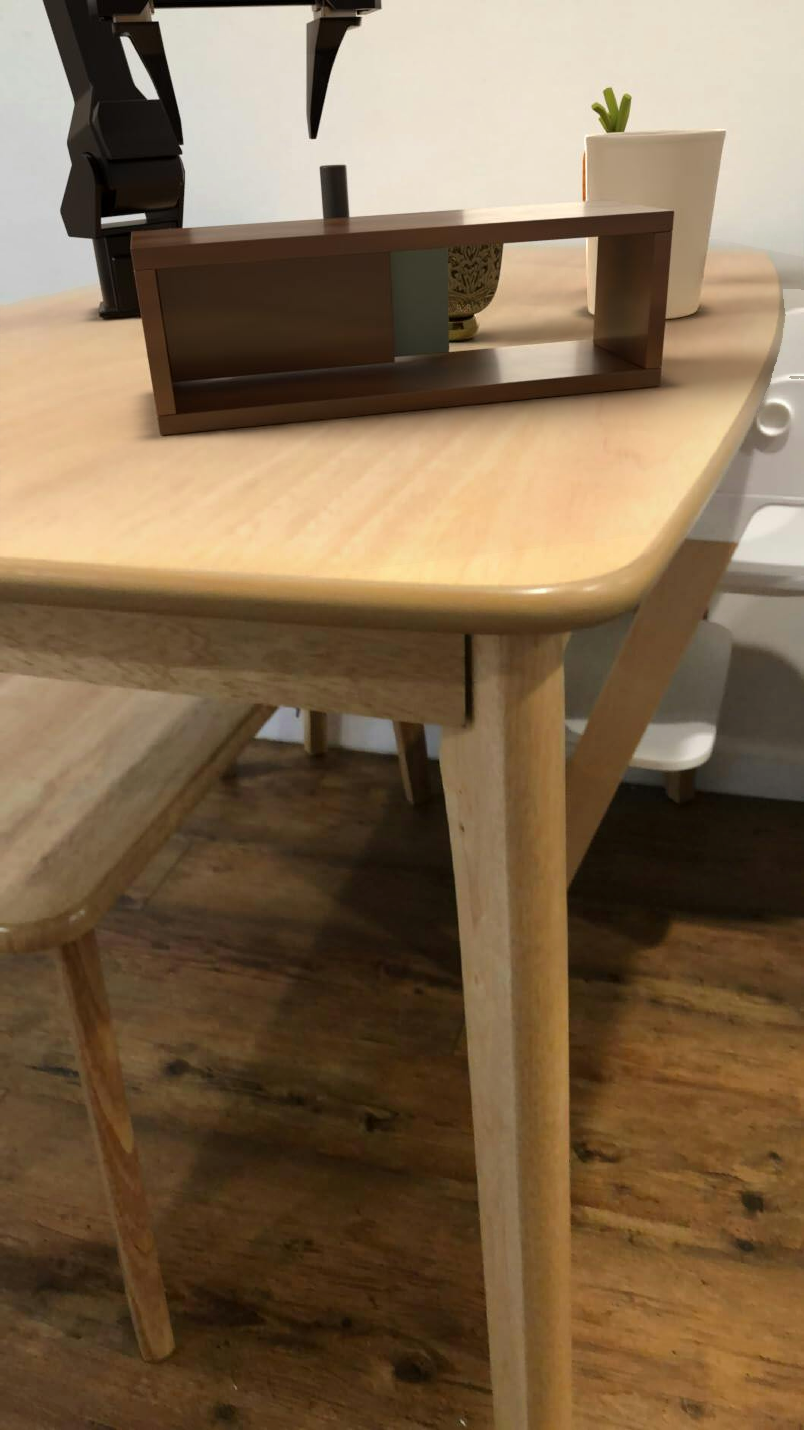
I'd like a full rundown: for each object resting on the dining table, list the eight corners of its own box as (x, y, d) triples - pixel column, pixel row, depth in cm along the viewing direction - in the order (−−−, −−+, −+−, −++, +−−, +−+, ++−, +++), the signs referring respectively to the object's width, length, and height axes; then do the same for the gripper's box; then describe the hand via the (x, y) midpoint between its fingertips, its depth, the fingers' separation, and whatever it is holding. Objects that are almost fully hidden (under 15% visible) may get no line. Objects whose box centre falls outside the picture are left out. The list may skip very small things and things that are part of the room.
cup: (385, 335, 76) (379, 214, 72) (477, 324, 78) (476, 206, 74) (425, 352, 70) (421, 221, 66) (523, 340, 72) (525, 212, 68)
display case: (157, 395, 62) (130, 230, 58) (597, 354, 67) (605, 199, 63) (160, 435, 54) (130, 247, 50) (660, 386, 59) (674, 210, 55)
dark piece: (223, 354, 66) (201, 172, 61) (428, 336, 68) (423, 159, 63) (230, 372, 62) (206, 176, 56) (449, 352, 64) (445, 162, 59)
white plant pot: (556, 307, 83) (561, 135, 77) (665, 296, 85) (679, 128, 79) (615, 327, 75) (626, 136, 69) (734, 314, 77) (755, 128, 71)
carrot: (635, 292, 88) (649, 84, 81) (576, 292, 89) (583, 88, 82) (636, 283, 92) (649, 85, 85) (579, 284, 93) (587, 88, 86)
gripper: (58, -177, 56) (109, 152, 64) (395, -174, 59) (404, 139, 67) (67, -136, 66) (110, 146, 73) (358, -136, 69) (369, 135, 77)
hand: (247, 141), depth 73 cm, fingers open, 9 cm apart
